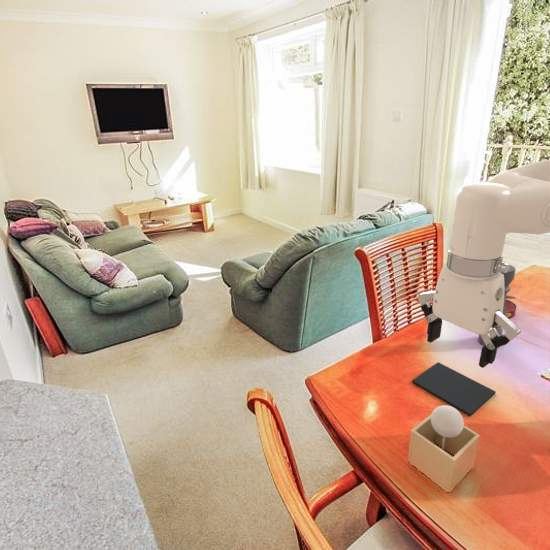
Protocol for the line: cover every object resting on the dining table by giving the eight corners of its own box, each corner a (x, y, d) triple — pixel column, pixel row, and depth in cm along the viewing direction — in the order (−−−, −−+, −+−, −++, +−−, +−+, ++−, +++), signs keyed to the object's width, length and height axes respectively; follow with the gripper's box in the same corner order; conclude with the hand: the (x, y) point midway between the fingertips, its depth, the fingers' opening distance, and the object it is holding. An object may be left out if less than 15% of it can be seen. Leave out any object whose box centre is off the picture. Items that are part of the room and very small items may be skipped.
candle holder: (476, 344, 114) (489, 269, 104) (479, 334, 119) (492, 261, 109) (499, 350, 111) (515, 273, 101) (502, 339, 115) (517, 265, 105)
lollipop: (426, 448, 82) (433, 395, 75) (456, 457, 79) (466, 402, 73) (423, 471, 77) (430, 416, 70) (454, 482, 74) (465, 425, 68)
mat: (495, 393, 95) (495, 391, 95) (469, 416, 89) (470, 414, 88) (437, 364, 107) (438, 361, 107) (411, 382, 101) (412, 380, 101)
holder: (473, 467, 77) (480, 435, 73) (448, 493, 72) (454, 460, 68) (433, 439, 84) (437, 408, 80) (407, 461, 79) (410, 430, 75)
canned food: (483, 325, 131) (471, 300, 131) (494, 311, 137) (483, 287, 136) (517, 323, 122) (505, 296, 121) (527, 308, 128) (516, 282, 127)
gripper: (543, 271, 55) (520, 365, 62) (437, 244, 68) (427, 324, 75) (520, 286, 51) (497, 385, 58) (411, 254, 64) (403, 338, 71)
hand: (458, 351), depth 67 cm, fingers open, 9 cm apart
